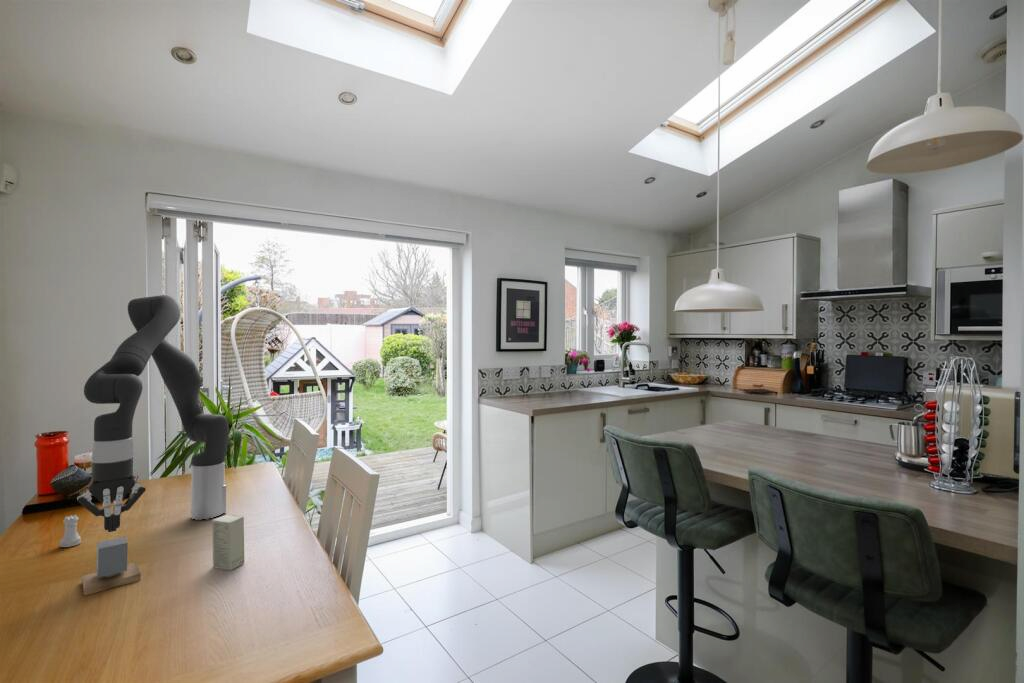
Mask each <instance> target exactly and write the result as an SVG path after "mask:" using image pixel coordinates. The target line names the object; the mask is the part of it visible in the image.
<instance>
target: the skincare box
mask: <svg viewBox="0 0 1024 683" xmlns="http://www.w3.org/2000/svg"><path fill="white" fill-rule="evenodd" d="M244 518H245V517H244V516H241V515H234V514H227V513H226V514H223V515H221V516H219V517H216V518H212V519H211V520H212V522H211V523H212V524H211V525H212V567H213V568H216V569H220V570H226V571H232V570H233V569H236V568H238V567H241V565H243V564H245V529H244V528H245V519H244Z"/></svg>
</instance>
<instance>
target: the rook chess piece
mask: <svg viewBox="0 0 1024 683" xmlns="http://www.w3.org/2000/svg"><path fill="white" fill-rule="evenodd" d="M78 520H80V519H79V517H78V515H77V514H73V515H71V514H70V515H69V516H68V515H67V516H65V517H64V519H63V520H62V522H63V523H64V524H65V525H64V526H63V527H64V534H63V536H62V537H61V538H62V539H61V540H60V542H59V543H60V545H59V547H60V548H61V547H70V546H74V547H76V546H75V545H77V546H79V545H80V544H81V543H82V540H81V539H82V538H81V536H80V533H78V528H77V527H78V526H77V525H79V524H78ZM78 544H79V545H78ZM70 548H71V547H70Z"/></svg>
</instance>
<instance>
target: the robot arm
mask: <svg viewBox="0 0 1024 683" xmlns="http://www.w3.org/2000/svg"><path fill="white" fill-rule="evenodd" d="M127 314H128V317H129V320H130V322H131V323H132V325H133V327H134V329H135V331H136V332H134V333H132V334H131V335H130V336H129V337H127V338H126V339H124V340H123V341H122V342H121V343H120V345H119V346H118V347H117V348H116V350H115V352H114V354H113V355H112V357H111V358H110V360H109V361H107V362H105V364H103V365H102V366H100V367H99V368H98V369H97V370H96V371H94V372H93V373H92V374H90V376H89V377H88V379H87V380H86V382H85V384H84V386H83V395H84V397H85V399H86V400H87V401H88V402H90V403H91V404H97V405H105V404H107V405H108V404H110V405H111V404H113V405H114V404H119V406H118V408H117V409H116V411H112V412H108V413H104V414H100V415H97V417H95V419H94V421H93V422H94V423H93V444H92V450H91V451H92V452H91V482H90V484H89V486H88V489H87V491H85V492H84V493H83V494H81V495H78V496H77V497H76V500H77V502H78V504H80V505H81V506H82V507H83V508H85V509H86V510H88V511H89V512H90V513H91V514H93V515H94V516H95V517H99V516H101V517H103V528H104V531H107V532H108V533H111V532H116V531H117V529H119V528H120V527H121V515H122V513H124V512H126V511H127V512H128V511H129V510H130V509H131V508H132V507H133V506H134V505H135V503H136V502H137V501H138V500H139V499H140V498H141V496H143V494H144V493H145V492H146V490H147V489H146V487H145V486H144V485H140V484H138V483H136V480H135V478H134V455H135V452H134V442H133V422H134V421H133V420H134V417H135V412H136V409H137V405H138V403H139V401H140V398H141V396H142V392H143V381H142V380H141V379H140V377H139V376H140V375H142V374H143V372H144V370H145V368H146V366H147V364H148V362H149V360H150V358H151V357H152V359H153V361H154V363H155V365H156V368H157V369H158V371H159V374H160V376H161V378H162V380H163V382H164V384H165V387H166V388H167V390H168V392H169V394H170V397H171V399H172V401H173V403H174V405H175V407H176V409H177V412H178V415H179V418H180V422H181V423H182V424H181V425H182V428H183V430H184V433H185V435H186V436H187V438H188V440H190V441H192V442H195V443H204V444H205V445H204V450H203V451H201V452H199V453H196V454H194V455H192V457H191V484H190V489H191V491H190V492H191V493H190V494H191V496H190V498H191V499H190V501H191V502H190V519H191V518H192V519H191V520H193V519H195V520H194V521H203V520H202V519H206V520H209V519H208V518H212V519H214V518H213V517H216V516H218V515H221V514H223V513H226V514H227V484H225V477H226V476H225V473H226V472H225V471H226V470H225V469H226V468H225V467H226V466H225V465H226V463H225V462H226V455H227V451H228V445H229V444H228V443H229V429H230V428H229V422H228V419H227V417H226V416H225V415H223V414H213V413H212V414H211V413H208V414H207V413H204V412H203V410H202V408H201V407H200V403H199V398H198V397H199V395H200V394H199V393H200V390H201V386H202V376H201V374H200V371H199V369H198V367H197V364H196V363H195V360H194V359H193V358H192V357H191V356H190V355H189V354H188V353H187V352H185V351H184V350H182V349H180V348H179V347H177V346H175V345H174V344H173V343H171V342H170V341H169V340H168V339H167V336H168V335H169V333H171V331H172V330H173V329H174V327H176V326H177V324H178V323H179V321H180V319H181V308H180V305H179V303H178V301H177V300H176V299H175V298H174V297H173V296H171V295H163V294H161V295H153V296H152V295H151V296H146V297H139V298H137V297H136V298H133V299H131V300H130V301H129V302H128V304H127ZM129 492H132V494H131V495H130V496H129V498H128V499H126V501H125V502H124V503H123V499H125V497H127V496H128V494H129ZM92 496H93V497H94V498H95V499H97V500H98V501H99V502H101V503H102V508H99V507H98V506H97V505H95V503H93V502H92ZM111 502H113V507H111V506H112V505H111ZM223 515H224V514H223ZM221 516H222V515H221ZM216 518H217V517H216Z"/></svg>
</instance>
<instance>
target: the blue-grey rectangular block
mask: <svg viewBox="0 0 1024 683" xmlns="http://www.w3.org/2000/svg"><path fill="white" fill-rule="evenodd" d="M128 544H129V543H128V540H127V537H126V536H122V537H117V538H112V539H107V540H102V541H97V542H96V565H95V566H96V572H97V576H98V578H100V577H104V576H108V575H112V574H116V573H120V572H124V571H127V564H128Z"/></svg>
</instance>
